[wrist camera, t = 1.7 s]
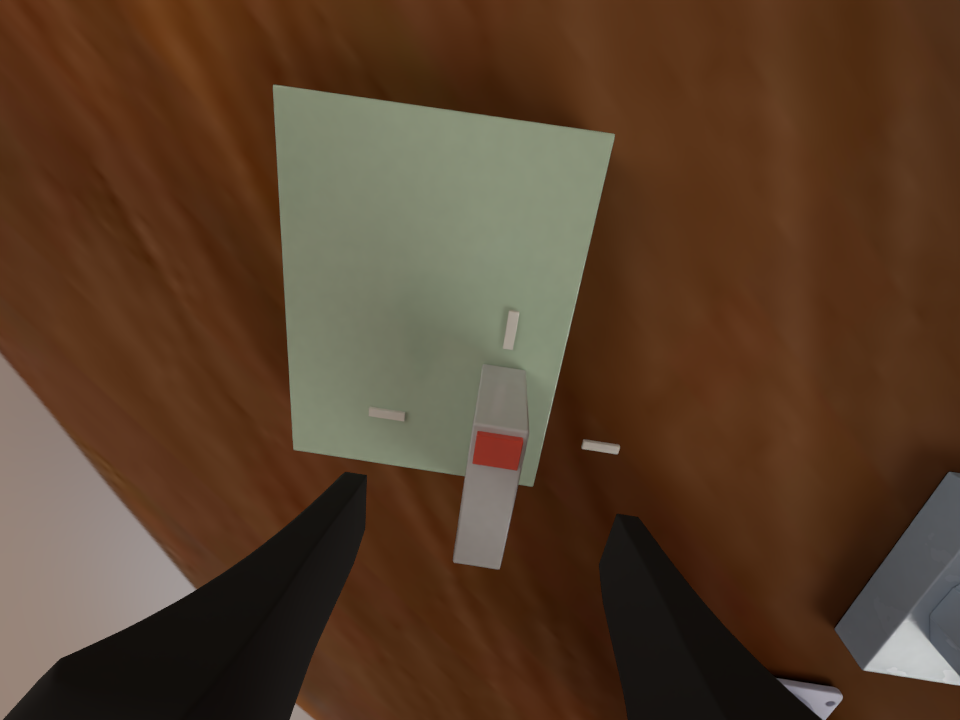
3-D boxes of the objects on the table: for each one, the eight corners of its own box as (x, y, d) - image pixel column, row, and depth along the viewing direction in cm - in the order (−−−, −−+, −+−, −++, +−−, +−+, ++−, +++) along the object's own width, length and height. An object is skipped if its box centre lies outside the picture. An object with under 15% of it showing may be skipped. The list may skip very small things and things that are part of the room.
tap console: (579, 492, 22) (589, 542, 19) (322, 452, 22) (293, 496, 19) (679, 150, 15) (717, 148, 12) (314, 97, 15) (268, 82, 13)
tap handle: (503, 488, 18) (499, 577, 14) (464, 482, 18) (450, 569, 14) (526, 369, 16) (530, 437, 12) (482, 362, 16) (471, 428, 12)
